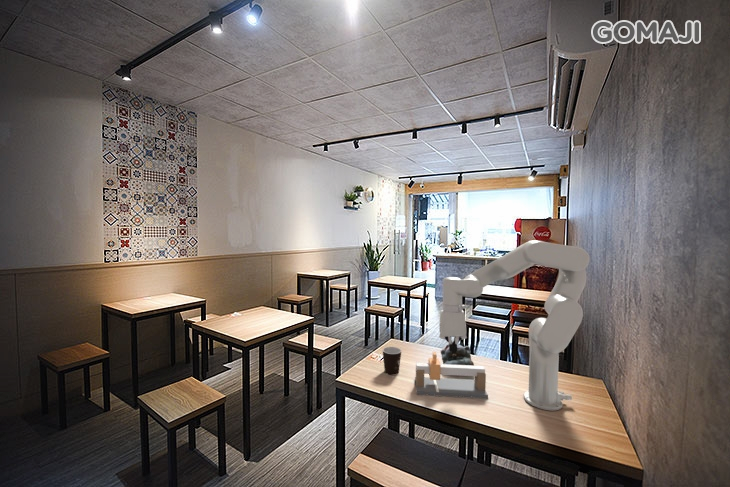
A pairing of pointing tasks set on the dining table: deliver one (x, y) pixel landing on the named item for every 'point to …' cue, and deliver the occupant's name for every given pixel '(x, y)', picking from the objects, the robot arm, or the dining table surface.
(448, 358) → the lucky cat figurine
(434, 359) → the orange stepped block
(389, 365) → the coffee mug
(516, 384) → the dining table surface
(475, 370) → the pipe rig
